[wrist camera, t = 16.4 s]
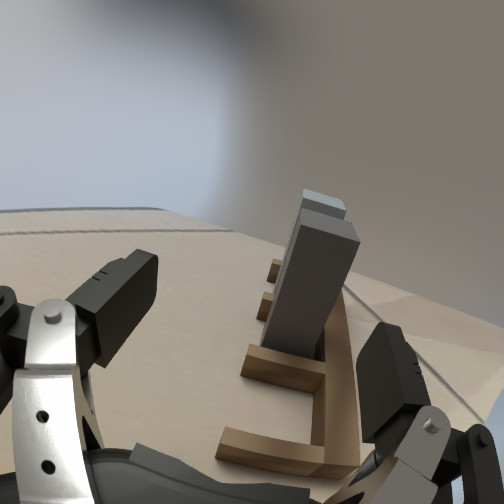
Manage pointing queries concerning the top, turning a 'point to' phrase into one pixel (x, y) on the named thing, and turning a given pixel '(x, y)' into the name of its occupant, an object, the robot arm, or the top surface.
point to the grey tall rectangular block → (309, 282)
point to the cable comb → (324, 403)
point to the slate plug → (316, 204)
